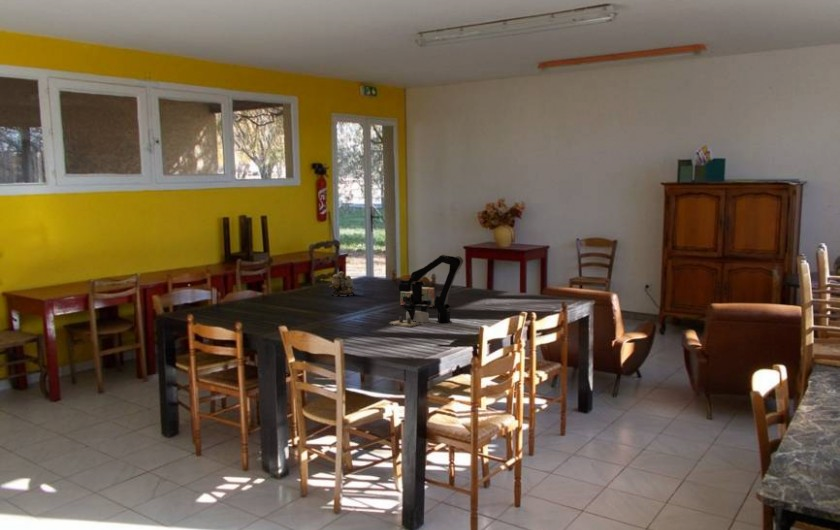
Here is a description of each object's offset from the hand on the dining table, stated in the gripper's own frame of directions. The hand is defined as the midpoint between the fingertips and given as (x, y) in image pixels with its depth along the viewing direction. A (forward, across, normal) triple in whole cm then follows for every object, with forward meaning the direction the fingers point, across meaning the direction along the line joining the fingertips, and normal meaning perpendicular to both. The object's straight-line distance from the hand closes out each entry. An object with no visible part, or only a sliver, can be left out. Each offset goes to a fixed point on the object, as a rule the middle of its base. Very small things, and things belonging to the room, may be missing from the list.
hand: (417, 319), depth 411 cm
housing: (+1, 0, 0) cm, 1 cm away
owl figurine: (+1, -35, -99) cm, 105 cm away
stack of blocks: (+1, -36, -30) cm, 47 cm away
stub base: (+1, +12, +1) cm, 12 cm away
